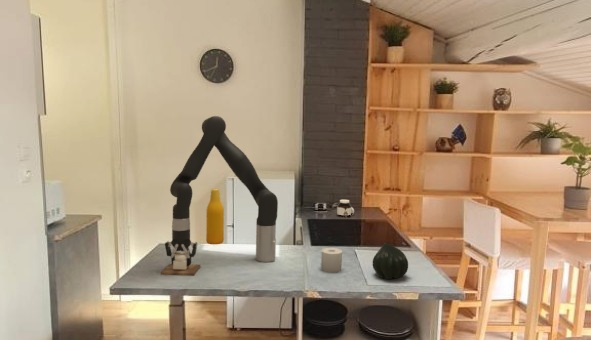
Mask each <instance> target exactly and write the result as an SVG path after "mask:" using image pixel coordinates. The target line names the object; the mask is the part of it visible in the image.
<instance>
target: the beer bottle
mask: <svg viewBox="0 0 591 340" xmlns="http://www.w3.org/2000/svg"><path fill="white" fill-rule="evenodd" d="M220 195H221V194H220V189H219V188H218V189H217V188H215V189H214V188H213V189H211V190H210V199H209V202H208V205H207V207H206V243H207V244H208V245H221V244H223V243H224V240H225V239H224V238H225V237H224V228H225V227H224V226H225V225H224V224H225V223H224V221H225V220H224V219H225V218H224V216H225V214H224V213H225V210H224V206H223V204H222V203H223V202H221V196H220Z"/></svg>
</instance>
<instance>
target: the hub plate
mask: <svg viewBox="0 0 591 340" xmlns="http://www.w3.org/2000/svg"><path fill="white" fill-rule="evenodd" d="M201 266H202V265H201V264H194V263H193V264H192V263H191V264H190V265H189V266H188V267H187V269H186V270H183V269H173V265H172V263H169V264H168V265H167V266H166V267H164V269H163V270H162V271H161V272H160V275H163V276H165V275H166V276H167V275H168V276H190V277H191V276H195V275H196V274H197V272H198V271H199V269H200V268H201Z"/></svg>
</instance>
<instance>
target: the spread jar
mask: <svg viewBox="0 0 591 340" xmlns="http://www.w3.org/2000/svg"><path fill="white" fill-rule="evenodd" d="M351 213H353V214H354V213H355V209H354V207H352V205H351V203H350V199H340V200H339V203H338V204H337V207H336V214H337V215H350V216H352V215H351Z"/></svg>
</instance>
